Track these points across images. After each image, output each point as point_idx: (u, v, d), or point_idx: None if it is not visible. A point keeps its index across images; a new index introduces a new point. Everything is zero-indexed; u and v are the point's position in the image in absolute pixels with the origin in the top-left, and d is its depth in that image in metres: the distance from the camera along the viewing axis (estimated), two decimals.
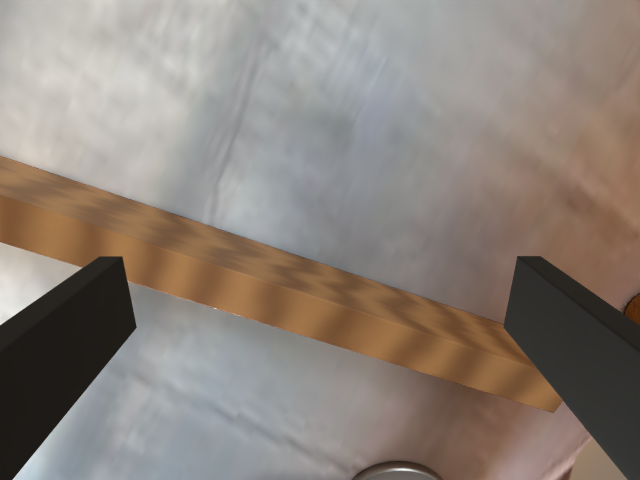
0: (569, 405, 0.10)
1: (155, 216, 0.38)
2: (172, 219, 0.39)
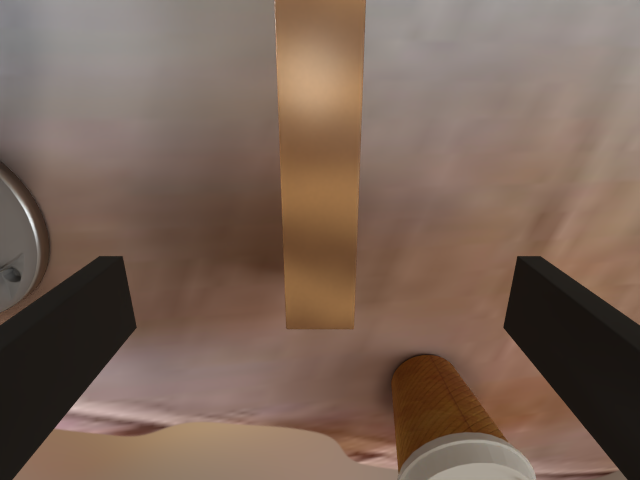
0: (569, 405, 0.10)
1: None
2: None
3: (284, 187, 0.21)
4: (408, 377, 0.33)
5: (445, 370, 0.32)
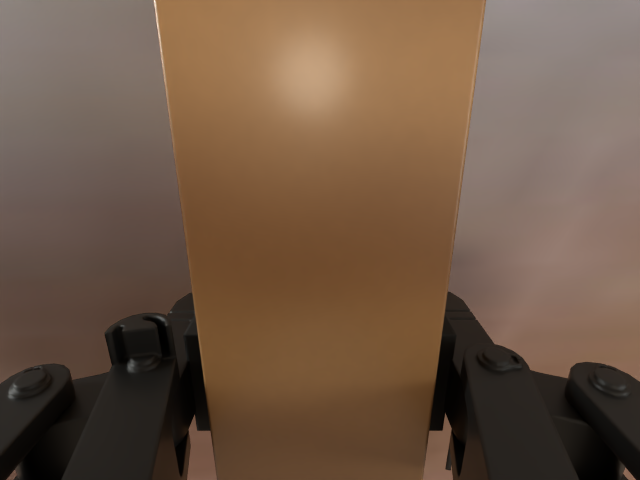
0: None
1: None
2: None
3: (210, 362, 0.07)
4: None
5: None
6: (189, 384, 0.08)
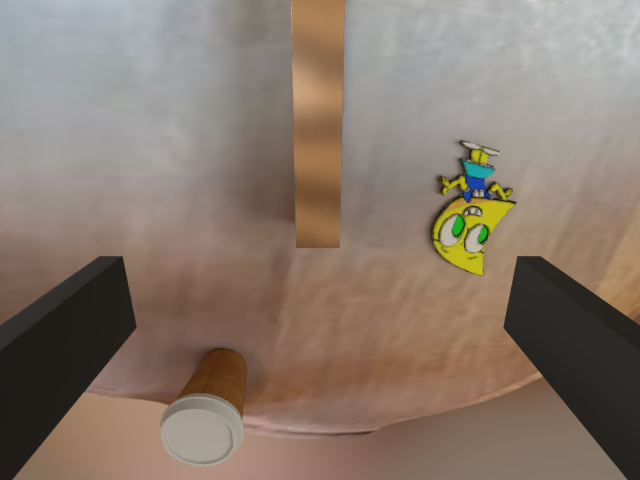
0: (569, 405, 0.10)
1: None
2: None
3: (296, 154, 0.35)
4: (202, 363, 0.50)
5: (225, 358, 0.50)
6: None
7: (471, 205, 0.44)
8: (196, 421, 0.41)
